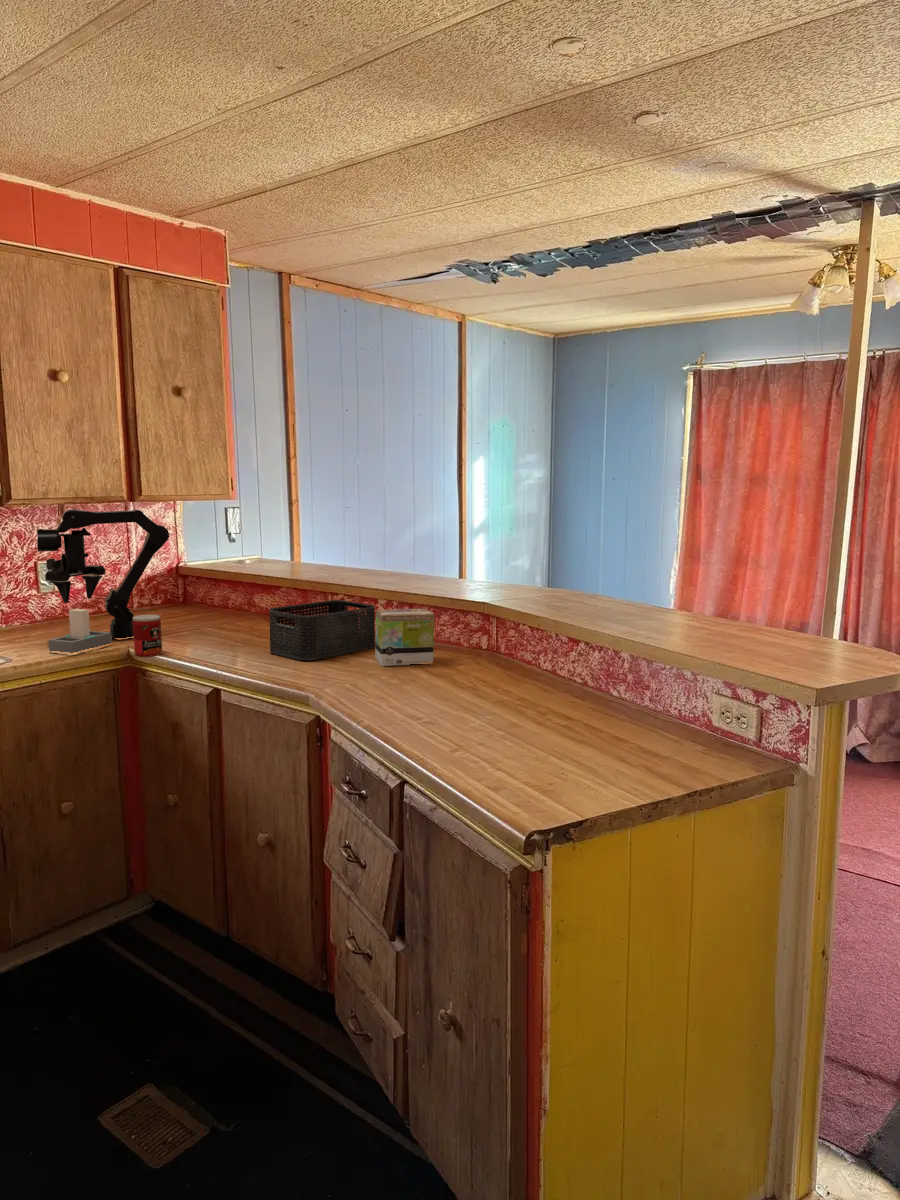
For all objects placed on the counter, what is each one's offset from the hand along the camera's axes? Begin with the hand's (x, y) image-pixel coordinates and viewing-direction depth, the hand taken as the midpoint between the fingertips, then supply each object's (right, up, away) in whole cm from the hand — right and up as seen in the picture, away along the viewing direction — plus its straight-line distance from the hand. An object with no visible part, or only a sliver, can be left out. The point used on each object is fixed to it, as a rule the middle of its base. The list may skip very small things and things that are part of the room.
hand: (77, 600), depth 258 cm
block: (+5, -15, -8) cm, 17 cm away
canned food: (+27, -16, -13) cm, 34 cm away
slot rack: (+5, -15, -8) cm, 17 cm away
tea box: (+102, -18, -21) cm, 106 cm away
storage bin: (+77, -15, -7) cm, 79 cm away
